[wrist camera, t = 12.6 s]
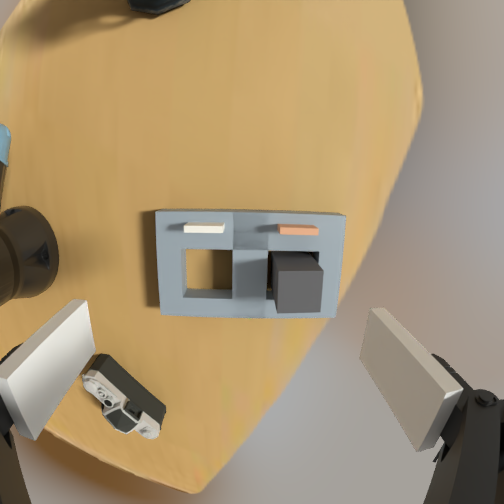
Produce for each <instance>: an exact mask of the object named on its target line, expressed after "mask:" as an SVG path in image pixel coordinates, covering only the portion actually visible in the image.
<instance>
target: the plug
mask: <svg viewBox="0 0 504 504" xmlns="http://www.w3.org/2000/svg"><path fill="white" fill-rule="evenodd" d="M323 275H324V270H323V269H322V268H321V267H320V266H319V264H318V263H317V262H316V261H315V259H314V258H313V257H312V256H311V255H310V253H309V252H308V251H271V289H272V294H273V298H274V302H275V306H276V311H277V314H279V313H317V312H320V311H321V300H322V288H323Z"/></svg>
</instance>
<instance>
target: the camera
mask: <svg viewBox="0 0 504 504" xmlns="http://www.w3.org/2000/svg"><path fill="white" fill-rule="evenodd" d="M82 376H83V378H82V381H83V384H84V385H83V386H84V388H85V389H86V391H88V392H90V393H92V394H93V395H94V396H95V397H96V398H97V399H98V400H100V401H101V402H102V406H101V409H102V415H103V416H104V417H105V419H106V420H107V421H108V422H109V423H110V424H111V425H112V426H113V427H114V429H116V430H118V431H120V432H122V433H125V434H128V433H130V432H131V431H133V430H136V431H137V432H138V433H139V434H141V435H142V436H143V437H145V438H147V439H154V438H156V437H158V435H159V431H160V430H161V425H162V421H163V418H164V415H165V413H166V406H165V405H164V404H163V403H162V402H160V401H159V400H158V399H157V398H156V397H155V396H153V395H152V394H151V393H150V392H149V391H148V390H146V389H145V388H144V387H143V386H142V385H141V384H140V383H139V382H138V381H136V380H135V379H134V378H133V377H132V376H131V375H130V374H129V373H128V372H127V371H126V370H125V369H123V368H122V367H121V366H120V365H119V364H118V363H117V362H116V361H115V360H114V359H113V358H112V357H111V356H110V355H107V354H100V355H99V356H98V357H97V358H96V360H95V362H94V363H93V364H92V366H91V367H90V368H89V370H88V371H87V373H86V374H83V375H82Z"/></svg>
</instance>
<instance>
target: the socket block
mask: <svg viewBox="0 0 504 504" xmlns="http://www.w3.org/2000/svg"><path fill="white" fill-rule="evenodd" d="M155 214H156V247H157V268H158V284H159V298H160V310H161V315H174V316H195V317H224V318H333V317H336V310H337V303H338V295H339V287H340V278H341V269H342V259H343V248H344V236H345V223H346V216H345V215H342V214H340V213H332V212H310V211H283V210H247V209H161V210H158V211H156V212H155ZM186 249H221V250H233V272H232V290H221V289H188V288H187V274H186ZM268 250H271V251H313V258H314V259H315V261H316V262H317V263H318V264H319V266H320V267H321V268H322V269H323V270H324V275H323V288H322V300H321V311H320V312H317V313H279V314H277V311H276V306H275V302H274V298H273V294H272V290H266V289H267V265H268Z"/></svg>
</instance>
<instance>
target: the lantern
mask: <svg viewBox="0 0 504 504" xmlns="http://www.w3.org/2000/svg"><path fill="white" fill-rule="evenodd" d="M189 1H190V0H128V3H129V6H130V8H131V10H133V11H140V12H146V13H152V14H157V15H159V14H161V13H163V12H165V11H168V10H170V9H172V8H175V7H177V6H180V5H182V4H185V3H188V2H189Z"/></svg>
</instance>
